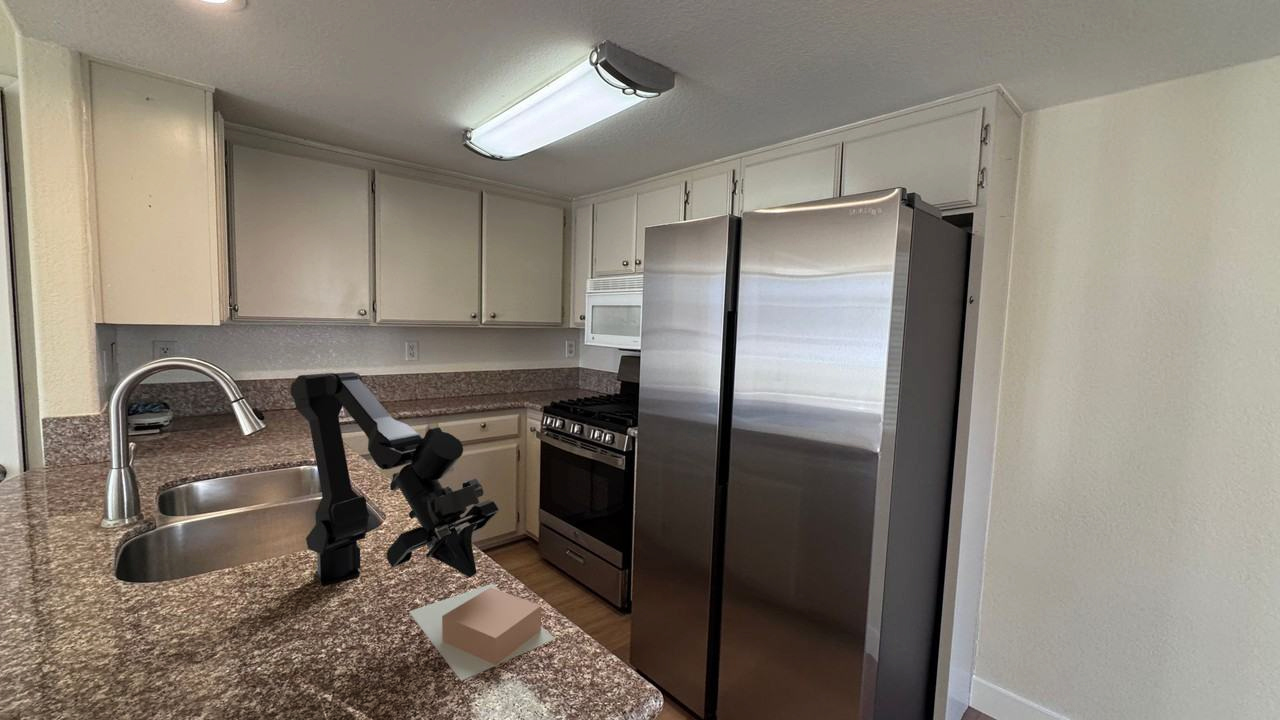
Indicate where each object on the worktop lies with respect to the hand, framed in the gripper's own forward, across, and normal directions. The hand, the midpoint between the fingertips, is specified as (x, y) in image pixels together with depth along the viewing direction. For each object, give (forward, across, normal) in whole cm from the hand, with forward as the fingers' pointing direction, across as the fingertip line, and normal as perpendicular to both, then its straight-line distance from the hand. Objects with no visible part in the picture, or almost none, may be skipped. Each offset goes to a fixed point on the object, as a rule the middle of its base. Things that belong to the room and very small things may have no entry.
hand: (473, 575), depth 82 cm
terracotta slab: (+4, 0, +6) cm, 7 cm away
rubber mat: (+6, +1, +6) cm, 9 cm away
